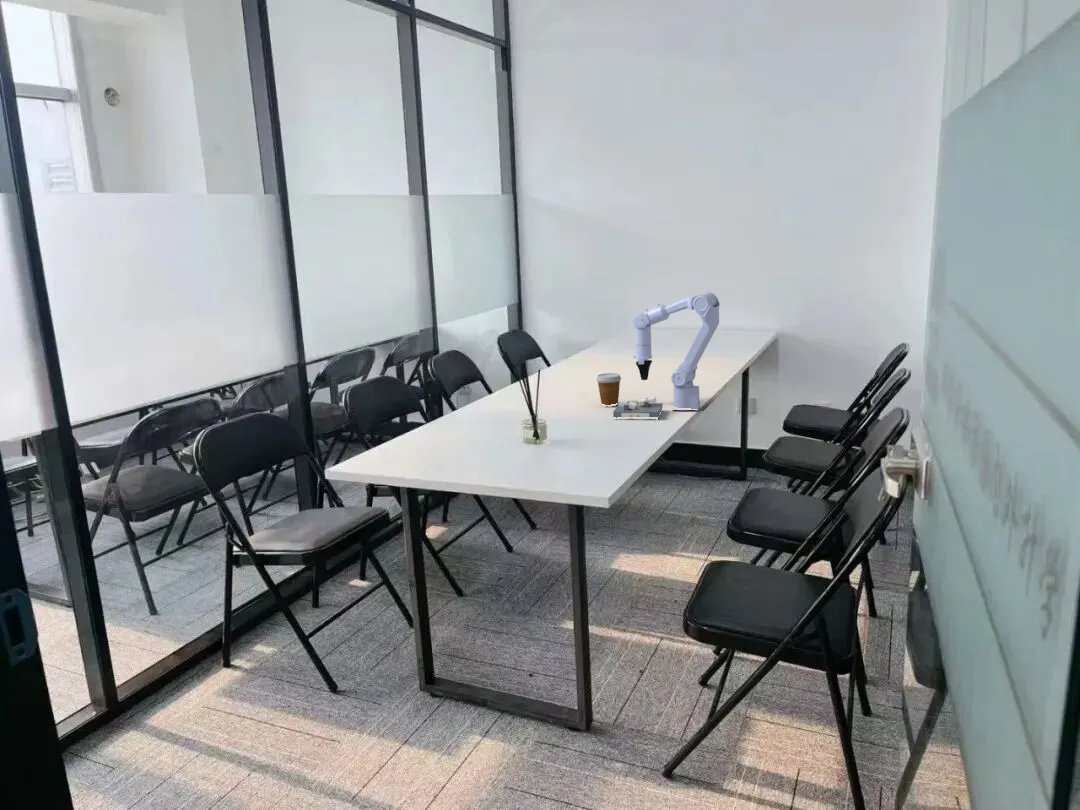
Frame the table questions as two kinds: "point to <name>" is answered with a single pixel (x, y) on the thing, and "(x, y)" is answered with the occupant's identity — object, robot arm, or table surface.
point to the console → (639, 410)
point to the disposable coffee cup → (609, 387)
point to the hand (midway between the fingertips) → (644, 379)
